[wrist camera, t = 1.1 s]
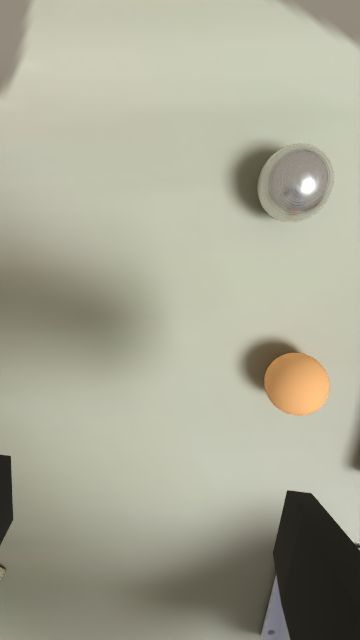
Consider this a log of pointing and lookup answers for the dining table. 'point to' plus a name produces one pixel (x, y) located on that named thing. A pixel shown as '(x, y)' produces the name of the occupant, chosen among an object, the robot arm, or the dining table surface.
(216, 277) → the dining table surface
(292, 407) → the ball
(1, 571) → the skincare box
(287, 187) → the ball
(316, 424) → the dining table surface
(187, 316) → the dining table surface
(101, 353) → the dining table surface
